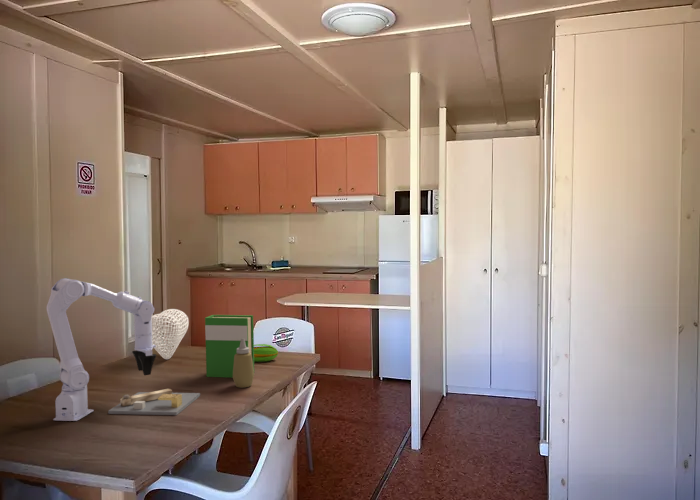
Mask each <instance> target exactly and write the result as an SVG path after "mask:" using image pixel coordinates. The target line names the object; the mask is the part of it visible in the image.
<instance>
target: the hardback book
mask: <svg viewBox="0 0 700 500" xmlns="http://www.w3.org/2000/svg"><path fill="white" fill-rule="evenodd" d="M204 324H205V325H204V327H205V328H204V329H205V330H204V331H205V333H204V334H205V364H206V365H205V370H206V371H205V373H206V374H205V375H206V377H207V378H232V379H233V366H234V356H235V354H237V348H239V347H240V342H241V339H242V338H244V340H245V344H246V347H248V348H249V353H250V354H252V361H253V369H254V370H255V362H254V347H255V346H254V345H255V344H254V343H255V340H254V339H255V337H254V334H255V333H254V331H255V330H254V315H252V314H249V315H248V314H247V315H246V314H243V315H242V314H241V315H239V314H211V315H209V316H206V317H204Z"/></svg>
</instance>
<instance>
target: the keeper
mask: <svg viewBox="0 0 700 500" xmlns="http://www.w3.org/2000/svg"><path fill="white" fill-rule="evenodd" d="M158 400H171V403H172V408H178V407H179V406H180V405H182V394H162V395H161V396H160V397H158Z"/></svg>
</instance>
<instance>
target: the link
mask: <svg viewBox="0 0 700 500" xmlns="http://www.w3.org/2000/svg"><path fill="white" fill-rule="evenodd" d="M148 392H149V393H144V394H139V395H135V394H133V395H134V396H133V395H131V396H130V394H124V395H122V398H120V402H119V404H120V403H121V406H129V405H132V404H134V402H136V401H145V402H146V401H151V400H156V399H158V397H160V396H161V395H162V394H172V393H173V389H171V388H165V389H160V390H155V391H148Z"/></svg>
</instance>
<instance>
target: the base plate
mask: <svg viewBox="0 0 700 500" xmlns="http://www.w3.org/2000/svg"><path fill="white" fill-rule="evenodd" d="M149 392H150V391H147V392H146V391H138V392H136V393H135V394H132V396H134V395H139V394H144V393H149ZM172 394H182V405H180V406H179V407H178V408H172V403H171V400H158V399H156V400H151V401H146V402H145V408H143V409H134V404H132V405H129V406H121V403H120V402H119V403H118V404H117V405H115V406H113V407H112V408H110V409H108V411H107V412H108V413H107V414H108V415H110V414H111V415H143V416H144V415H147V416H148V415H151V416H152V415H153V416H154V415H155V416H156V415H157V416H178V415H179V414H180V413H181V412H183V411H184V410H185V409H186V408H187V407H188V406H190V405H191V404H192V403H193V402H195V401H196V400H198V399H199V398H200V397H201V393H200V392H172Z"/></svg>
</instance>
